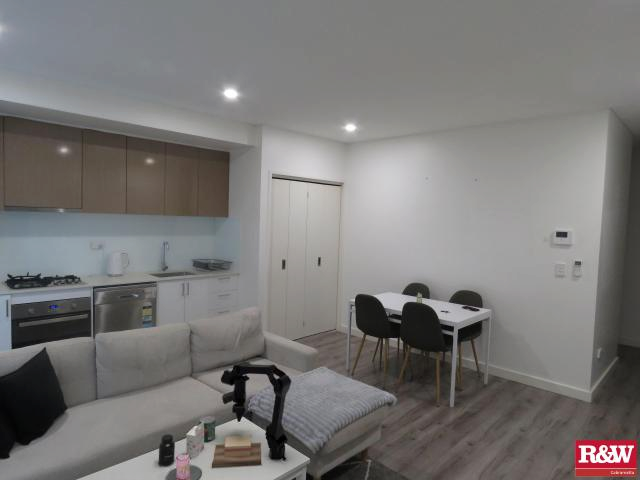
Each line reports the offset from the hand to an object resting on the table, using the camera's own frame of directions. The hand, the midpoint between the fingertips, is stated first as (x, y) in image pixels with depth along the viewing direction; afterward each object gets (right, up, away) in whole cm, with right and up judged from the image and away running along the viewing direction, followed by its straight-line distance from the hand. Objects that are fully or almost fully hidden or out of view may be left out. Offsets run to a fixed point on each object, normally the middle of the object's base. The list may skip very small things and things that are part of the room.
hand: (239, 418), depth 204 cm
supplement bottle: (-30, -13, -17) cm, 37 cm away
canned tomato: (-17, -13, +3) cm, 21 cm away
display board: (+1, -14, -11) cm, 17 cm away
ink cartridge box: (-19, -13, -10) cm, 25 cm away
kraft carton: (+1, -12, -8) cm, 15 cm away
